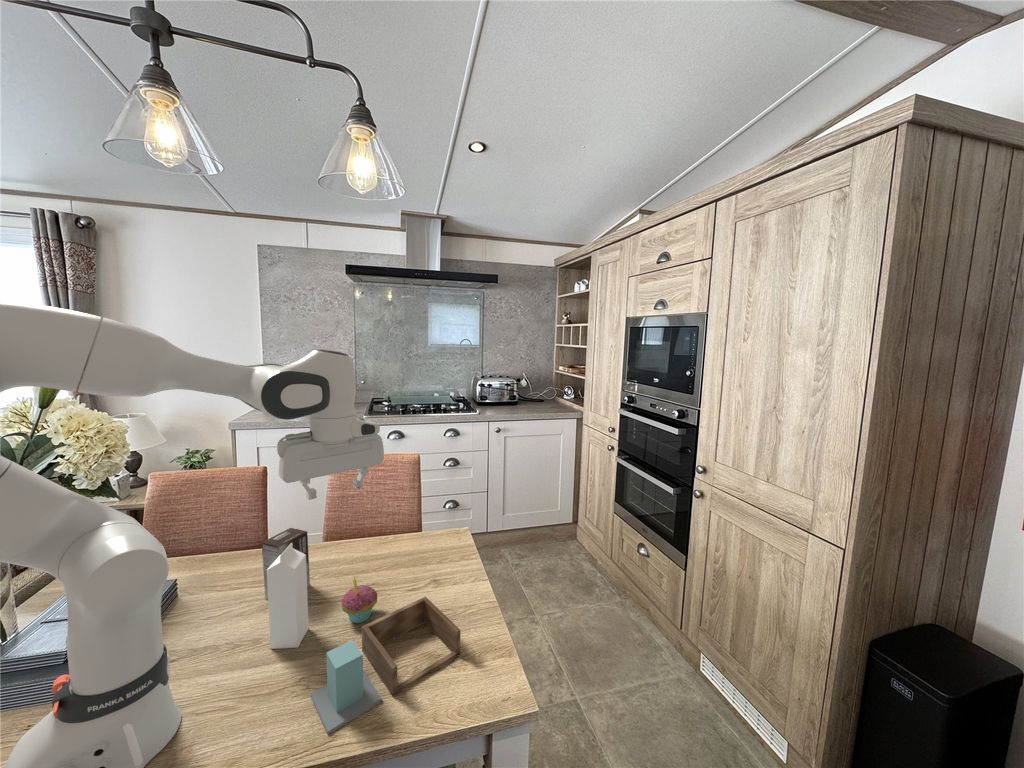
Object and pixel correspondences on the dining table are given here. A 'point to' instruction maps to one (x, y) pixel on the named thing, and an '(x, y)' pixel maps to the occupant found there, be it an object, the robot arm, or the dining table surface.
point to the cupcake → (359, 602)
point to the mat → (337, 720)
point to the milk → (287, 599)
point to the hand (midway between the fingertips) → (335, 492)
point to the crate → (398, 625)
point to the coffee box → (279, 544)
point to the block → (344, 675)
